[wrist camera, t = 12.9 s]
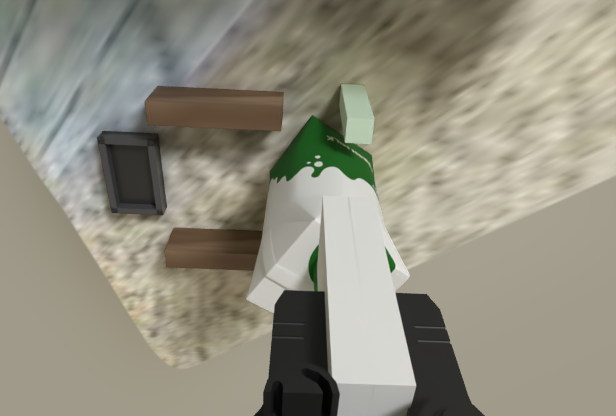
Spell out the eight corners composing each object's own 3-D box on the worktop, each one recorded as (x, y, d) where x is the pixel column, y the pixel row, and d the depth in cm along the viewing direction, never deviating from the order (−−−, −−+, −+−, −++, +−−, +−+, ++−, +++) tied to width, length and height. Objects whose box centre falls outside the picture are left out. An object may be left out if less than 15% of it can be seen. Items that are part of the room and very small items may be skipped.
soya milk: (385, 152, 46) (431, 298, 29) (328, 218, 50) (338, 380, 33) (309, 100, 43) (311, 227, 26) (255, 174, 47) (225, 326, 30)
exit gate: (340, 83, 42) (347, 117, 35) (363, 84, 42) (374, 119, 35) (325, 256, 52) (328, 309, 45) (344, 257, 52) (349, 309, 45)
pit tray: (103, 131, 44) (97, 137, 43) (157, 133, 45) (153, 140, 43) (117, 205, 49) (111, 212, 47) (166, 207, 49) (163, 215, 47)
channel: (157, 86, 42) (144, 101, 39) (283, 92, 42) (281, 108, 39) (176, 243, 51) (166, 267, 48) (279, 247, 51) (277, 271, 48)
